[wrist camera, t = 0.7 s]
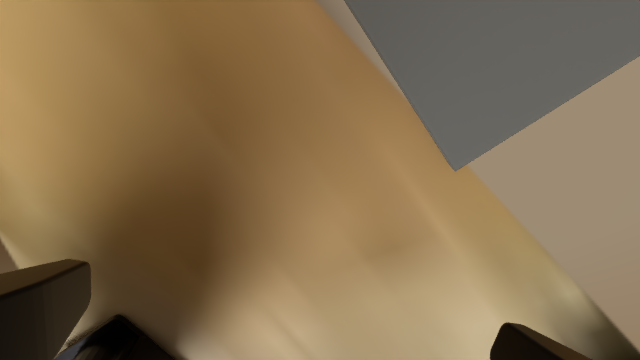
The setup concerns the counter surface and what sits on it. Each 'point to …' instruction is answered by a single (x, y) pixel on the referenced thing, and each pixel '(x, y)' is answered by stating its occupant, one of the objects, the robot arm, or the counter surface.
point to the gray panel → (496, 60)
